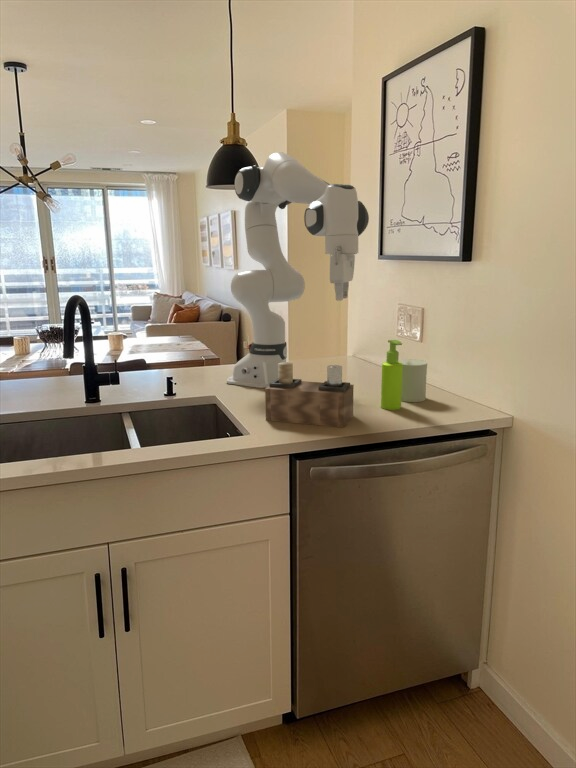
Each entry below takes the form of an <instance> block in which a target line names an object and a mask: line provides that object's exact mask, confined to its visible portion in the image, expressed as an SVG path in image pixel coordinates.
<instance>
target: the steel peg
mask: <svg viewBox="0 0 576 768" xmlns="http://www.w3.org/2000/svg"><path fill="white" fill-rule="evenodd" d="M326 368H327V370H326V372H327V373H326V381H327V387H342V382H343V366H342V365H337V364H331V365H327V367H326Z"/></svg>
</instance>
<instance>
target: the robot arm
mask: <svg viewBox="0 0 576 768" xmlns="http://www.w3.org/2000/svg"><path fill="white" fill-rule="evenodd" d="M234 192H235V194H236V196H237V197H238V198H239V199H240V200H242V201H246V202H247V203H246V205H245V208H244V231H245V239H246V240H245V241H246V248H247V249H246V250H247V253H248V255H249V257H250V258H251V259H253V260H254V261H256V262H258V263H260V265H262V266H263V267H264V269H249V270H244V271H239V272H237V273H235V274H234V276H233V278H232V279H231V282H230V291H231V294H232V297H233V298H234V299H235V300H236V301H237V302H238V303H240V304H241V305H242V306H243V307H244V308H245V309H246V311H247V312H248V314H249V316H250V319H251V325H252V334H253V336H252V337H253V341H252V342H251V343H249V344H248V345H247V346H246V347H247V348H246V349H247V350H248V353H247V354H245V356H244V357H242V358H241V359H239V360H238V361H237V362H236V363H235V364H234V367H233V372H232V375H230V376H229V377H227V379H226V383H227V384H230V385H238V386H245V387H251V388H258V389H259V388H260V389H263V388H267V387H268V386H269V383H271V382H272V381H274V380H276V379H277V378H278V363H283V362H287V357H288V347H287V342H286V322H285V320H284V318H283V316H281V315H279V314H278V313H276V312H274V311H271V309H270V306H269V305H270V304H269V303H281V302H290V301H294V300H297V299H298V300H299V299H300V298H301V297H302V295H303V294H304V291H305V289H306V288H305V287H306V282H305V279H304V277H303V275H302V273H301V272H300V271H298V270H296V268H294V267H293V266H292V265H291V264H290V263H289V262H288V261H287V259H286V257H285V256H284V253H283V252H282V248H281V244H280V237H279V230H278V223H277V219H276V218H277V217H276V211H277V208H279V209H281V210H283V209H285V208H286V207H287V205H290V204H291V203H293V204H294V203H295V204H308V206H307V207H306V208H305V211H304V217H303V218H304V219H303V220H304V226H305V228H306V229H307V231H308V232H309V233H310V235H312V236H316V237H324V245H325V246H324V247H325V248H324V249H325V250H324V253H325V255H329V282H330V284H334V285H333V287H334V292H335V300H336V301H338V302H339V301H341V302H342V301H343V300H344V299H347V298H348V297H349V296H348V295H349V287H350V284H349V283H350V282H352V281H353V280H354V274H355V272H354V271H355V261H356V260H355V258H356V255H357V254H359V237H360V236H361V235H362V234H363V233H364V232H365V230H366V229H367V227H368V224H369V221H370V219H369V218H370V216H369V211H368V209H367V207H366V206H365V204H364V203H363V202H362V201H360V200H358V199H359V197H358V193H357V189H356V187H354V185H351V184H343V183H341V184H340V183H328V182H327V181H325V180H323V179H322V178H320V177H318V176H317V175H315V174H314V173H312V172H311V171H310V170H308V169H307V168H306V167H305V166H303V165H302V164H301V163H300V162H299V161H298V160H297V159H296V158H294V157H293V156H291V155H289V154H287V153H285V152H282V151H277V152H274V153H272V154H270V155H269V156H268V157H267V159H266V160H265V164H264V166H263V167H261V166H257V165H256V164H255V165H252V166H246V167H242V168H241V169H239V170H238V171H237V172H236V174H235V178H234Z"/></svg>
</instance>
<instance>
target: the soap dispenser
mask: <svg viewBox="0 0 576 768" xmlns="http://www.w3.org/2000/svg"><path fill="white" fill-rule="evenodd" d="M387 342H388V343H389V350H387V351H386V361H384V362H382V363H381V385H380V386H381V388H380V389H381V392H380V393H381V396H380V408H381V409H384V410H389V411H395V410H400V409H402V401H401V395H402V368H403V364H402V363H399V362H398V361H399V355H400V354H399V351H398V350H397V346H402V345H403V343H402V342H401V341H400V340H396V339H388V340H387Z"/></svg>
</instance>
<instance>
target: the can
mask: <svg viewBox="0 0 576 768" xmlns="http://www.w3.org/2000/svg"><path fill="white" fill-rule="evenodd" d="M398 362H399V363H402V364H403V368H402V395H401V402H405V403H420V402H421V403H422V402H424V401H426V399H427V397H426V395H427V394H426V393H427V391H426V390H427V373H428V371H427V369H428V362H427V361H426V360H422V359H421V360H420V359H413V358H412V359H400V360H398Z"/></svg>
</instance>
